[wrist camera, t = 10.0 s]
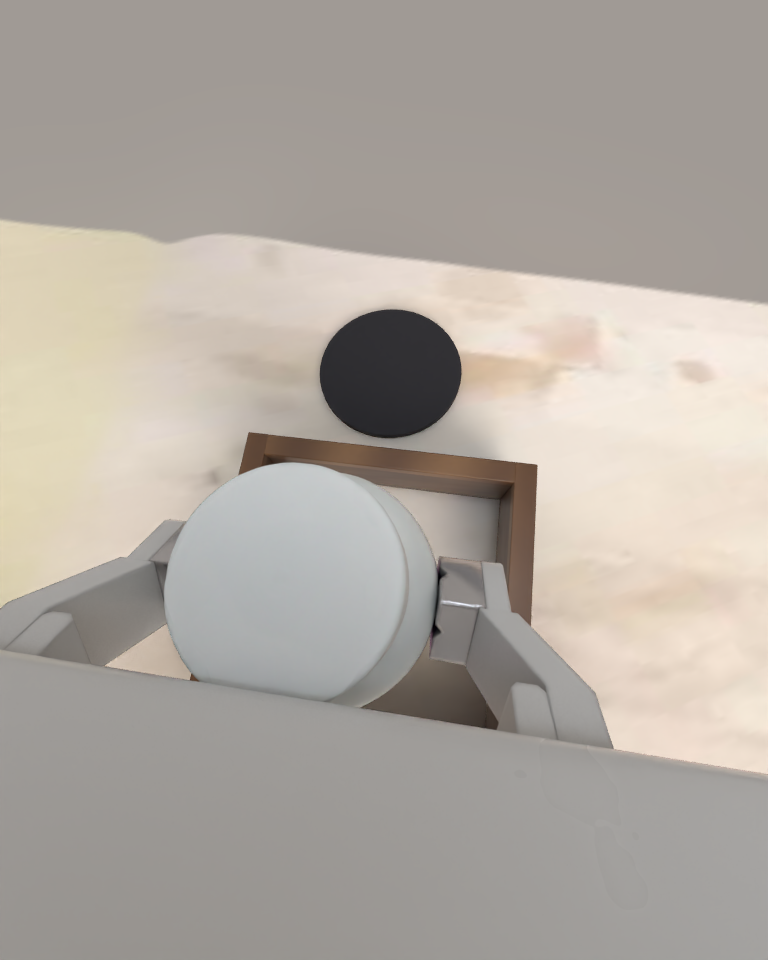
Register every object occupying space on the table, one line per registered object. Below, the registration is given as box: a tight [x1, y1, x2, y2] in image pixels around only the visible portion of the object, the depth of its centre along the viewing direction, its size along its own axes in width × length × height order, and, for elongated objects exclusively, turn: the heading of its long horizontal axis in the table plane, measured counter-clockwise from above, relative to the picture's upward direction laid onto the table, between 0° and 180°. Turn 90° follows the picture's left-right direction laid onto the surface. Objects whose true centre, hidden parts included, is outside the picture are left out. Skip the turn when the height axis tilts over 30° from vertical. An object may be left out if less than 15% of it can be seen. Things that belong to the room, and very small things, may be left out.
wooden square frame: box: [190, 432, 537, 730], centre depth 22 cm, size 15×15×4 cm
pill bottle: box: [164, 462, 438, 708], centre depth 12 cm, size 5×5×10 cm
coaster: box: [320, 310, 461, 438], centre depth 28 cm, size 9×9×1 cm
